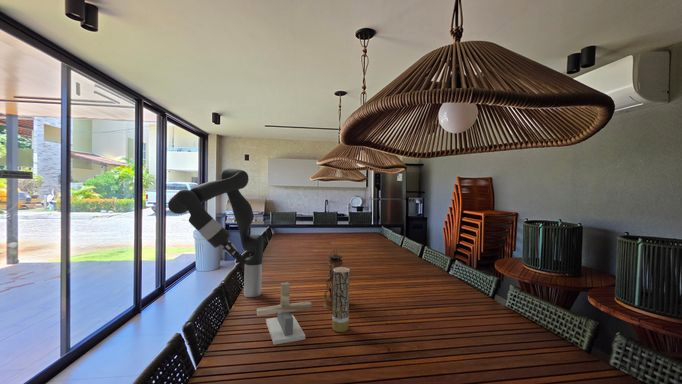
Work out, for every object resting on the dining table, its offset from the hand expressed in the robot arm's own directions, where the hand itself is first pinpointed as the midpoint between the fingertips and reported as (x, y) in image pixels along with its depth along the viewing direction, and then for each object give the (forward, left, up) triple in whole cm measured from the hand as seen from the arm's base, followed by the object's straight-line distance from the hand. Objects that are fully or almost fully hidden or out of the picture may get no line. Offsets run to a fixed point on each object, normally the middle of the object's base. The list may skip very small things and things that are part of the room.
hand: (243, 261), depth 113 cm
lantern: (-13, +47, -29) cm, 56 cm away
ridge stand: (+5, +17, -28) cm, 33 cm away
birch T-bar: (+5, +16, -20) cm, 27 cm away
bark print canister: (+12, +39, -29) cm, 49 cm away
